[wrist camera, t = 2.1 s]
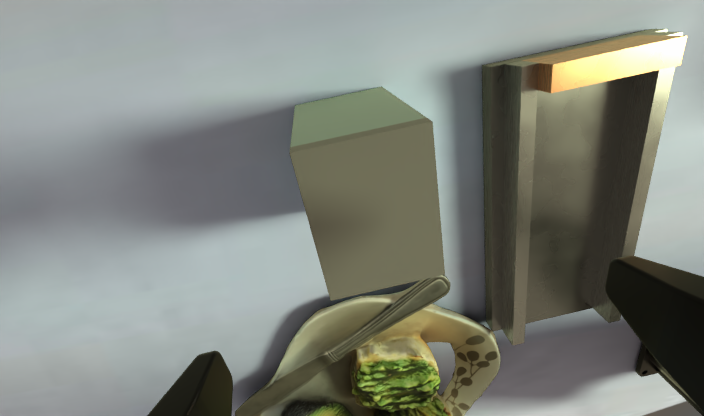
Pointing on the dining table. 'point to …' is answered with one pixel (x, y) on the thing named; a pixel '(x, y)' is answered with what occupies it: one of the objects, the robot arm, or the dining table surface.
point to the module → (368, 190)
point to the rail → (569, 171)
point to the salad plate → (380, 360)
